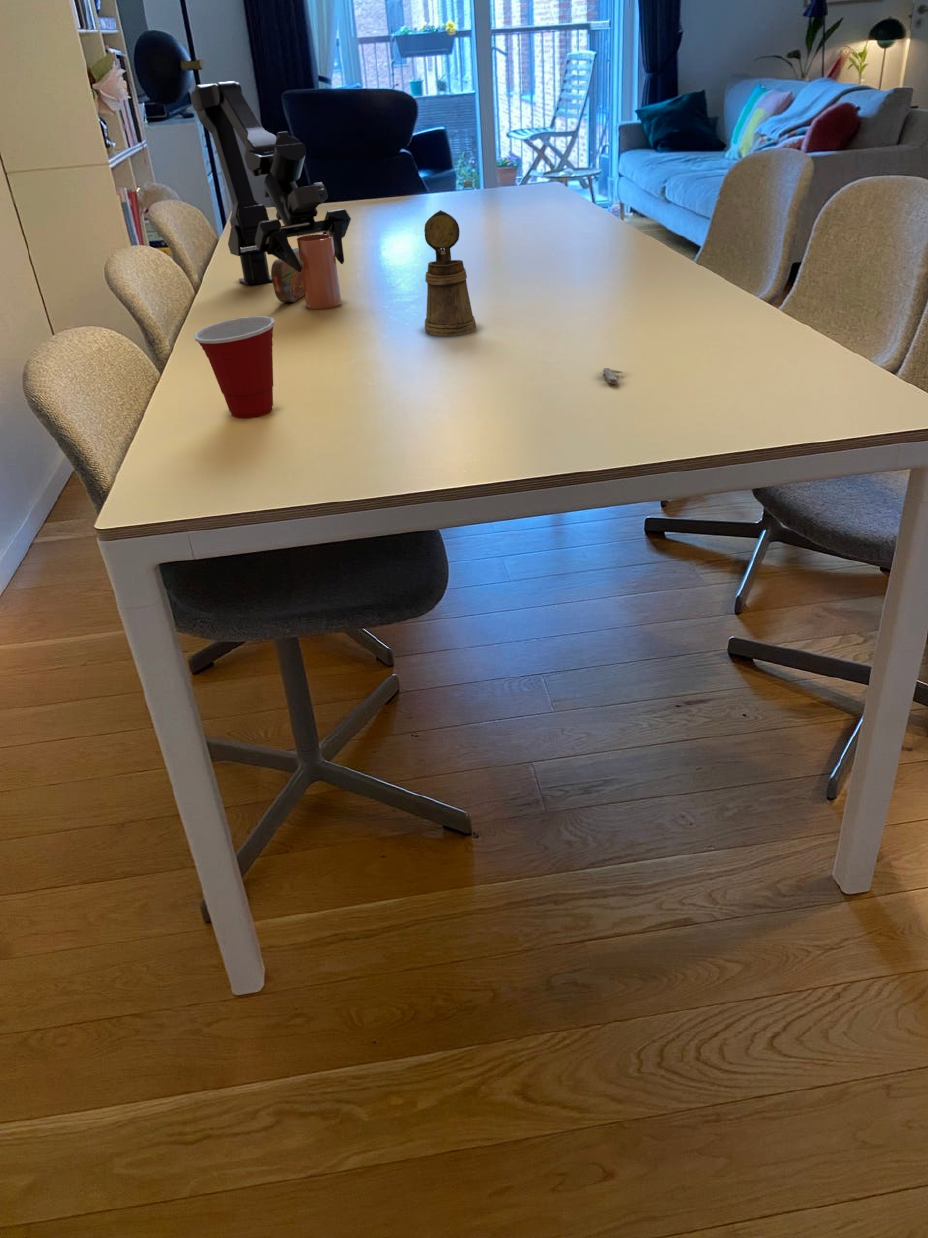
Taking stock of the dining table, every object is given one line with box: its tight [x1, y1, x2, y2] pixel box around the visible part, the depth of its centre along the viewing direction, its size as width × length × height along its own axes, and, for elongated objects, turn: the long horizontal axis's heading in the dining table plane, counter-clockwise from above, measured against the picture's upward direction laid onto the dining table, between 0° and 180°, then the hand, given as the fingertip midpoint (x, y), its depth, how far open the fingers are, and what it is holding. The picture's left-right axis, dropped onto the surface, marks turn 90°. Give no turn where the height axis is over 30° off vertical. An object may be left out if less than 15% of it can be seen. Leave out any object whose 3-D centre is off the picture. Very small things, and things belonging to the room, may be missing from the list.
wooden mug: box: [423, 209, 477, 337], centre depth 154 cm, size 9×14×18 cm, turn 4°
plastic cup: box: [193, 315, 275, 420], centre depth 123 cm, size 11×11×12 cm
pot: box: [296, 233, 342, 310], centre depth 176 cm, size 7×7×12 cm
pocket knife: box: [602, 367, 623, 384], centre depth 129 cm, size 6×1×3 cm
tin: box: [270, 251, 305, 303], centre depth 184 cm, size 15×3×8 cm, turn 168°
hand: (321, 266), depth 174 cm, fingers open, 9 cm apart
